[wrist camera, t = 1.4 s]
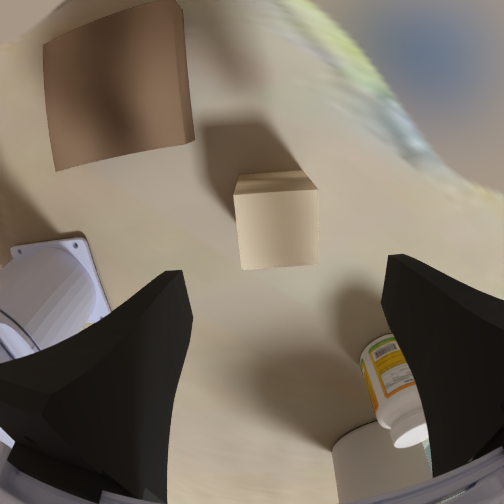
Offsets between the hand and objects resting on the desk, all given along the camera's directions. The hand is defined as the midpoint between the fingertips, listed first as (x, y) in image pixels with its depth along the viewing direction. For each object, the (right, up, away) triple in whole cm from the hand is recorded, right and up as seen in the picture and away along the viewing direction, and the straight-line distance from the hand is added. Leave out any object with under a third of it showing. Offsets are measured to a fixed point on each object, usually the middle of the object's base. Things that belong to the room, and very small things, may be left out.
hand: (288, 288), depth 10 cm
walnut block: (-10, +12, +6) cm, 16 cm away
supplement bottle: (+11, -8, +15) cm, 21 cm away
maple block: (0, +4, +9) cm, 10 cm away
